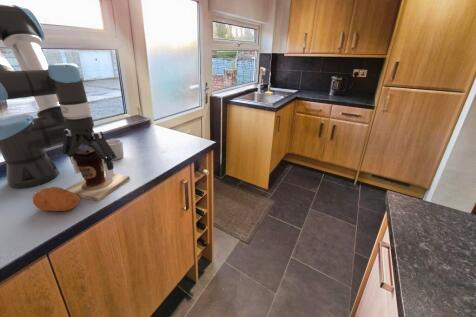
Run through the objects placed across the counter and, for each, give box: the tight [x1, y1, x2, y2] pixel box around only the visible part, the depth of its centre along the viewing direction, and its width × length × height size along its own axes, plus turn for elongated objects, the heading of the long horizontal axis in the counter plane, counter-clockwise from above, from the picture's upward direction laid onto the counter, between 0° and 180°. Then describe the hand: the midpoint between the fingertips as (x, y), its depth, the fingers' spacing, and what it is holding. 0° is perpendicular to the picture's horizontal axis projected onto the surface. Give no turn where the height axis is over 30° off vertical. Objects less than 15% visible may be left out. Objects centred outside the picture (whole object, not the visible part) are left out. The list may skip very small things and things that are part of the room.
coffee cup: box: [73, 146, 106, 187], centre depth 82 cm, size 9×8×13 cm
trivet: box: [65, 171, 131, 202], centre depth 85 cm, size 15×15×1 cm
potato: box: [32, 186, 81, 212], centre depth 71 cm, size 7×13×7 cm, turn 80°
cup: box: [105, 138, 124, 161], centre depth 106 cm, size 11×8×8 cm
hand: (95, 174), depth 83 cm, fingers open, 13 cm apart
